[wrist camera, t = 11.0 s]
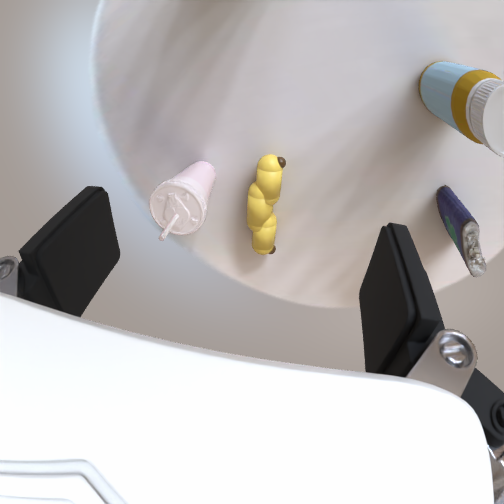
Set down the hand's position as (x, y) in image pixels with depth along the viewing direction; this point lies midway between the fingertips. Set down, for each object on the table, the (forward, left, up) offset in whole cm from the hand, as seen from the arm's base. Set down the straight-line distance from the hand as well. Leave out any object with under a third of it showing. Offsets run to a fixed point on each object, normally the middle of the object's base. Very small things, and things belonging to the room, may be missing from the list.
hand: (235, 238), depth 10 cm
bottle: (-5, +18, -28) cm, 34 cm away
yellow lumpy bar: (+14, -2, -28) cm, 32 cm away
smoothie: (+11, -10, -28) cm, 32 cm away
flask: (+11, +24, -28) cm, 39 cm away
